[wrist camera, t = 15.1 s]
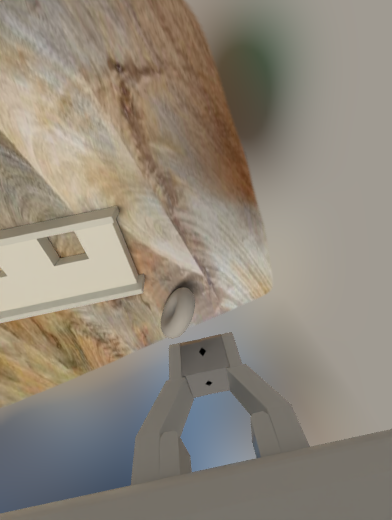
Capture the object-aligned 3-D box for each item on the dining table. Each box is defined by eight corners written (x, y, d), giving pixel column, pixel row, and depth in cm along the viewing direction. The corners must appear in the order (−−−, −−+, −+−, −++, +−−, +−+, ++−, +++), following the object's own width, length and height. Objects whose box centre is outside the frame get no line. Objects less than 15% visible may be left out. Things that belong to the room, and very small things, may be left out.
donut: (180, 275, 44) (184, 311, 36) (195, 281, 45) (202, 317, 37) (158, 307, 48) (156, 347, 40) (172, 312, 50) (173, 351, 41)
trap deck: (-116, 254, 35) (-150, 270, 31) (117, 205, 35) (111, 216, 32) (-44, 317, 43) (-64, 336, 40) (144, 278, 44) (143, 293, 40)
